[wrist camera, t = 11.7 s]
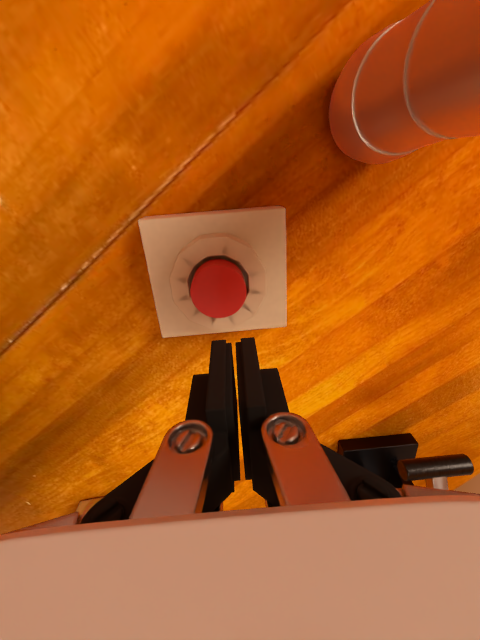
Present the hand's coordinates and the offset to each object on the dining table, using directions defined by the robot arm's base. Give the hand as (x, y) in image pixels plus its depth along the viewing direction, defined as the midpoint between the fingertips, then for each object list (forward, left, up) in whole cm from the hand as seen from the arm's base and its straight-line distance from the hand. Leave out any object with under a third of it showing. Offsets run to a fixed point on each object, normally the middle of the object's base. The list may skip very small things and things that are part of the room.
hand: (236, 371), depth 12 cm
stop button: (+1, 0, -10) cm, 10 cm away
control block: (+1, 0, -14) cm, 14 cm away
